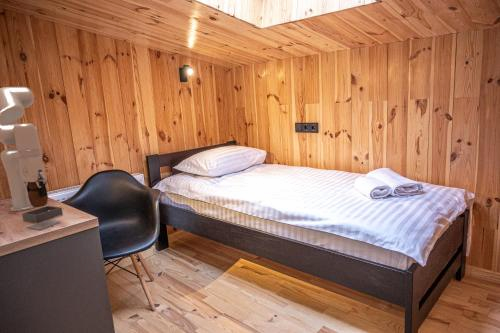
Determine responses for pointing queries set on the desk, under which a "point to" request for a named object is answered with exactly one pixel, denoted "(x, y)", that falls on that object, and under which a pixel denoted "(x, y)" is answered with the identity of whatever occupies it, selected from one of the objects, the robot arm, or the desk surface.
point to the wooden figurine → (36, 196)
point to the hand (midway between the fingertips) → (37, 195)
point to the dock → (42, 214)
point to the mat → (43, 225)
